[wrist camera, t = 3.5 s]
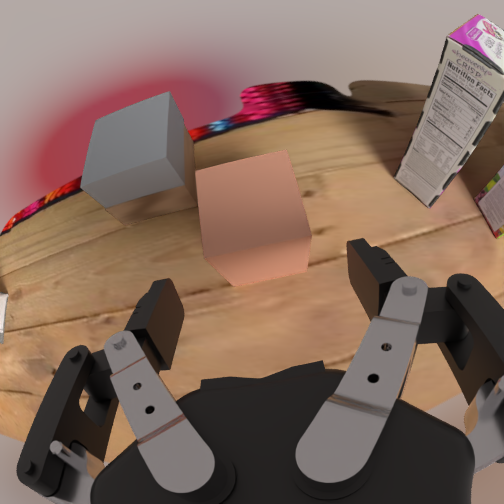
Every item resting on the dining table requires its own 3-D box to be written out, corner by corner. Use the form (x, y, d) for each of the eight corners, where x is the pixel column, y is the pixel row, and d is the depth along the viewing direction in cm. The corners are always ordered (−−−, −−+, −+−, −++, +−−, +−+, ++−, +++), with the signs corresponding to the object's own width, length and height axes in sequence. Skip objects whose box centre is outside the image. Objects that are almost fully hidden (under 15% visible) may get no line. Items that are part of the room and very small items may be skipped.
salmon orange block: (234, 286, 23) (204, 258, 16) (223, 220, 25) (195, 171, 18) (306, 271, 23) (311, 235, 15) (290, 206, 25) (286, 149, 17)
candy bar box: (432, 124, 25) (476, 11, 10) (465, 151, 24) (525, 45, 8) (388, 178, 24) (445, 30, 9) (428, 212, 23) (519, 83, 7)
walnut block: (126, 226, 27) (105, 209, 23) (130, 164, 30) (113, 144, 26) (199, 207, 26) (184, 185, 23) (194, 144, 29) (182, 120, 25)
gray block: (105, 208, 23) (80, 187, 20) (114, 143, 26) (95, 120, 22) (185, 185, 23) (166, 157, 19) (183, 119, 25) (169, 91, 22)
